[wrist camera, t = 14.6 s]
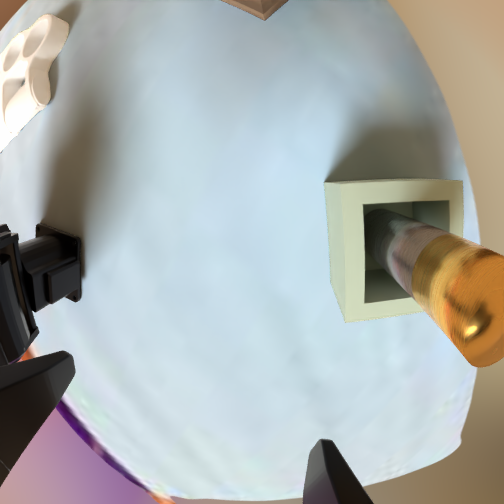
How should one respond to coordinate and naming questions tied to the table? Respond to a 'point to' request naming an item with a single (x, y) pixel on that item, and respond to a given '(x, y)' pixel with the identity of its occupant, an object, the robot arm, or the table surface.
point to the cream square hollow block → (352, 238)
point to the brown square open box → (258, 6)
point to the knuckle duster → (28, 73)
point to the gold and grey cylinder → (444, 280)
